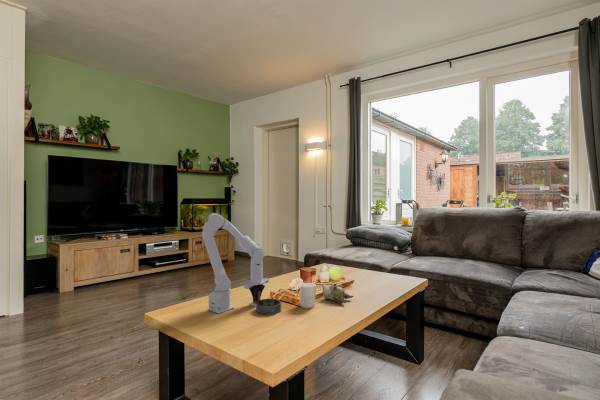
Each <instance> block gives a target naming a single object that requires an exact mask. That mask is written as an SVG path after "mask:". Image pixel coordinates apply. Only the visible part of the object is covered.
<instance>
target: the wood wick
mask: <svg viewBox="0 0 600 400" xmlns="http://www.w3.org/2000/svg"><path fill="white" fill-rule="evenodd" d="M259 300H261V298H260V290H259V292H258V300H257V301H253V300H252V301H250V302H249V306H253V307H255V308H256V303H257V302H258V301H259Z"/></svg>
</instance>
